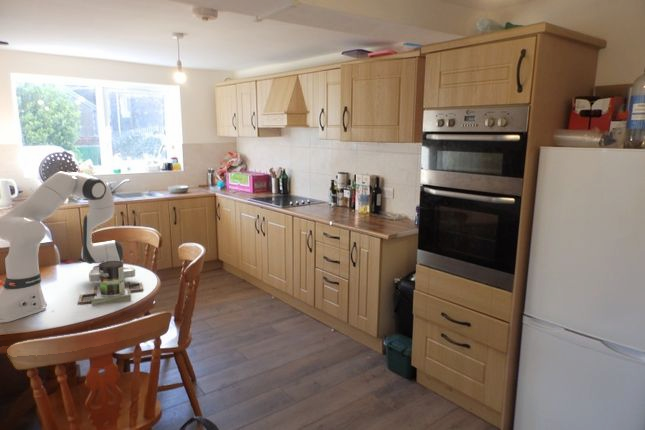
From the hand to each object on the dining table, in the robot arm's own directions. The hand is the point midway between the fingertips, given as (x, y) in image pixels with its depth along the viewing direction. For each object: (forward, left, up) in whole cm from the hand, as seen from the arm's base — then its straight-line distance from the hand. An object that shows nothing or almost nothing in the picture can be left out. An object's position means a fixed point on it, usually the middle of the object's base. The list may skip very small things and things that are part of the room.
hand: (112, 278), depth 202 cm
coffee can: (-4, -3, -6) cm, 8 cm away
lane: (-6, -4, -5) cm, 9 cm away
